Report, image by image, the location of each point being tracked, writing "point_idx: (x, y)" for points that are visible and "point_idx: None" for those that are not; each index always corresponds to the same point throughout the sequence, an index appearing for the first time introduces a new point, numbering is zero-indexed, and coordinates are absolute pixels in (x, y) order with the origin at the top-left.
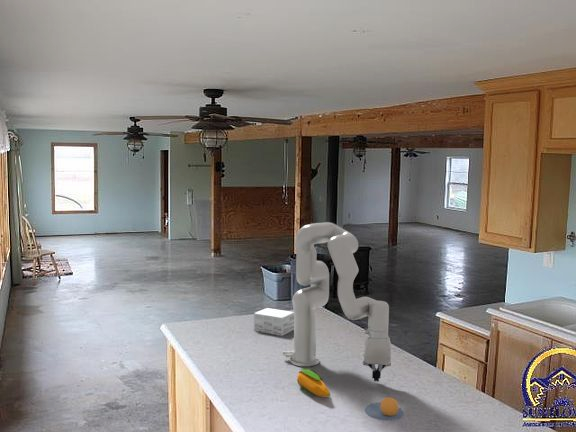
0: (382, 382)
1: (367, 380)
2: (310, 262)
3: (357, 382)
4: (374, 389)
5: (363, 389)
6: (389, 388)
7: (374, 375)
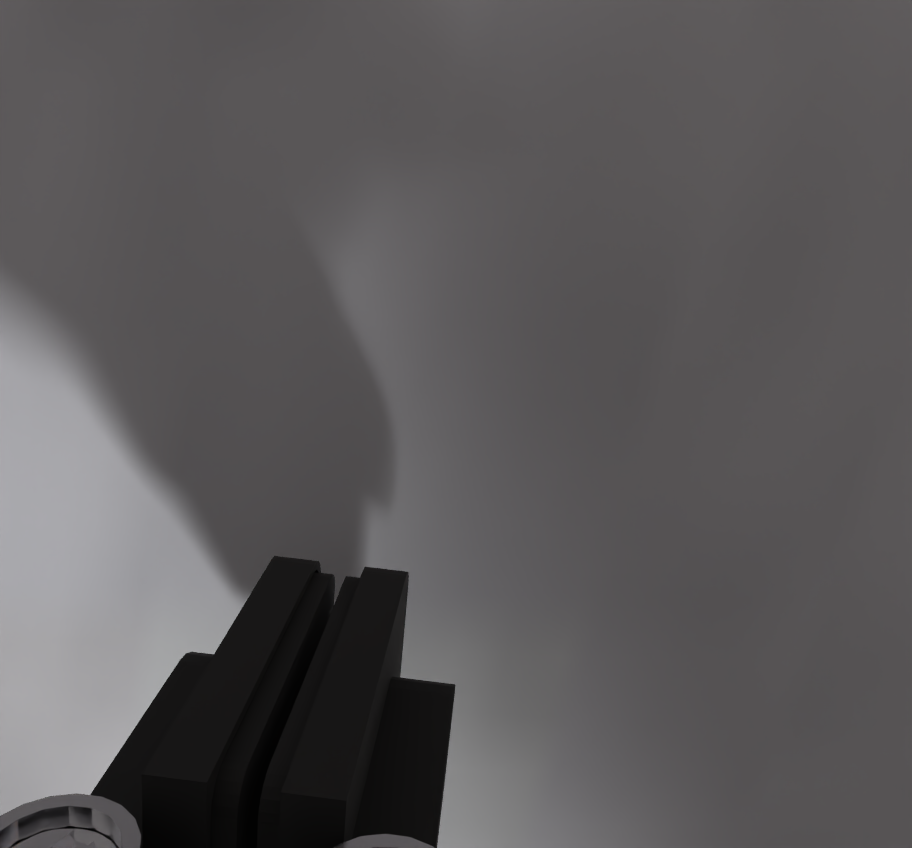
0: None
1: (544, 806)
2: None
3: (855, 704)
4: (486, 217)
5: (839, 218)
6: (27, 290)
7: (384, 726)
